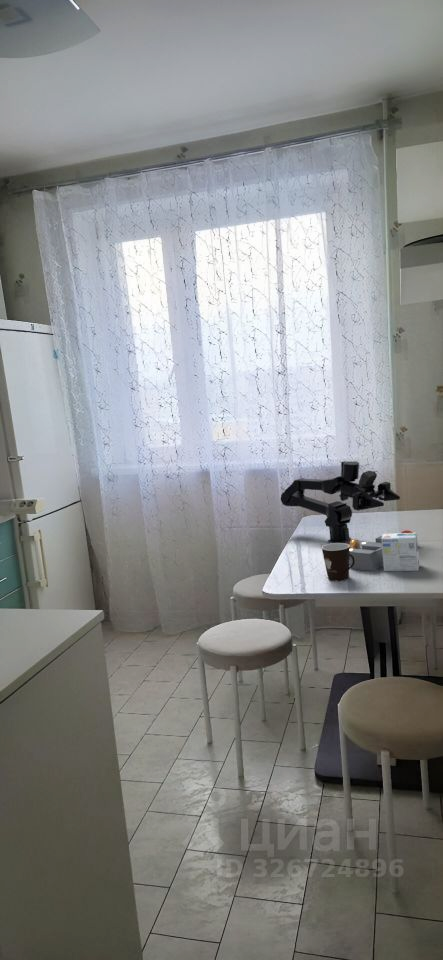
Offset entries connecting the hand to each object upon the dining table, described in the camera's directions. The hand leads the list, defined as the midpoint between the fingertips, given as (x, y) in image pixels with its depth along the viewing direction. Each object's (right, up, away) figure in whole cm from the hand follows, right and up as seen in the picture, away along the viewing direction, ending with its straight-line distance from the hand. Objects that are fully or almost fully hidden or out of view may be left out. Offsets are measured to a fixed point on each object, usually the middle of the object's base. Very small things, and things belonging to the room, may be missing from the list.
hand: (391, 501), depth 222 cm
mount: (-8, -19, -10) cm, 23 cm away
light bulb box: (-2, -21, -21) cm, 30 cm away
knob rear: (-10, -17, -2) cm, 20 cm away
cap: (+6, -16, +3) cm, 18 cm away
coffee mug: (-23, -23, -25) cm, 41 cm away
